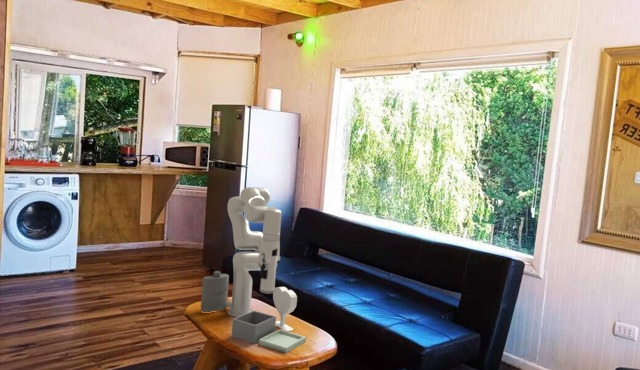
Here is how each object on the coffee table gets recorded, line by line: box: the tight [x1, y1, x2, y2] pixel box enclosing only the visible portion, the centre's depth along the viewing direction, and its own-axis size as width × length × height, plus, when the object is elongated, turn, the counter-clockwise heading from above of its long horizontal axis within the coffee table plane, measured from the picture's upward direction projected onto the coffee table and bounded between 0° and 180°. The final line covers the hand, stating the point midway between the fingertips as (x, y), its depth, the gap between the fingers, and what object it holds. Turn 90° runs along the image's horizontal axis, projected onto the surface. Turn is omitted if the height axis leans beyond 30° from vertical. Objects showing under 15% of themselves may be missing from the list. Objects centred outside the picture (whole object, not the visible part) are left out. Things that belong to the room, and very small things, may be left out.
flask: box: [200, 270, 230, 312], centre depth 254 cm, size 15×6×20 cm, turn 139°
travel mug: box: [259, 249, 278, 295], centre depth 222 cm, size 6×7×20 cm
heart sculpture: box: [272, 286, 298, 332], centre depth 241 cm, size 16×5×18 cm, turn 38°
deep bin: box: [231, 310, 277, 345], centre depth 226 cm, size 13×16×8 cm
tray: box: [258, 328, 307, 354], centre depth 220 cm, size 14×16×2 cm
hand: (268, 276), depth 222 cm, fingers closed on travel mug, 6 cm apart
